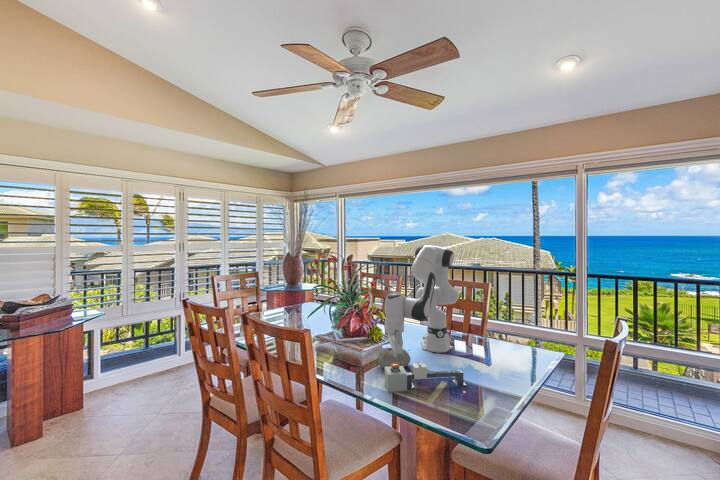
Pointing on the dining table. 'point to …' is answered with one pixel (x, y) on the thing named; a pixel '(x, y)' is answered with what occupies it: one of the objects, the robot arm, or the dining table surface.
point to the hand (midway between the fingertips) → (394, 356)
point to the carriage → (419, 370)
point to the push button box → (395, 379)
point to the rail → (457, 374)
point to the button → (395, 367)
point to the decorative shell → (392, 358)
